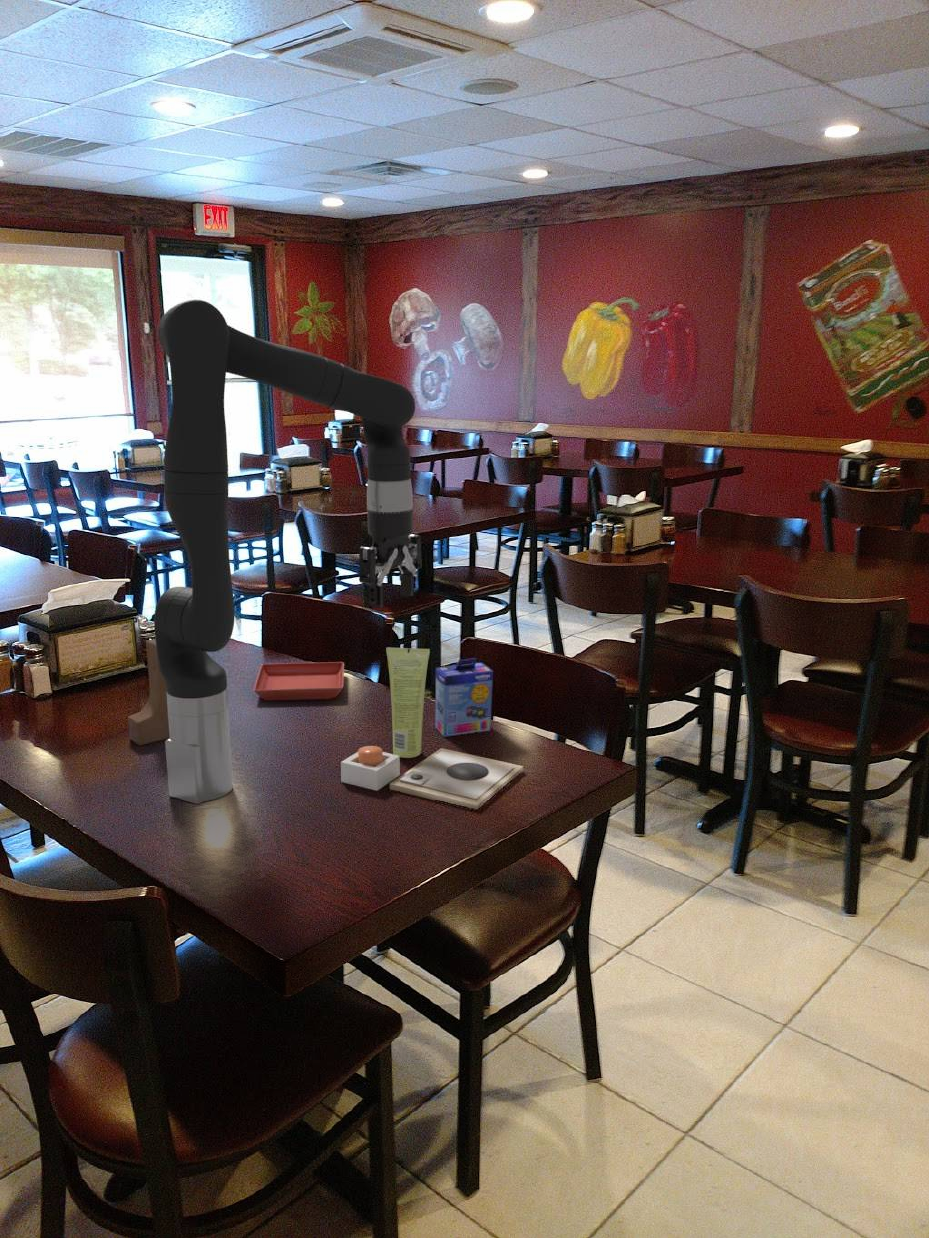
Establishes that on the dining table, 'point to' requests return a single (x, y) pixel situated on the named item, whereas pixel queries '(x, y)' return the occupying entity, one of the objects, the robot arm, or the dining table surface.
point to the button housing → (370, 771)
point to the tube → (407, 698)
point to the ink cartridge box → (463, 698)
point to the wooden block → (151, 706)
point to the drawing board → (456, 778)
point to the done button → (370, 755)
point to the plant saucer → (300, 681)
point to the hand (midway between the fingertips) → (392, 600)
